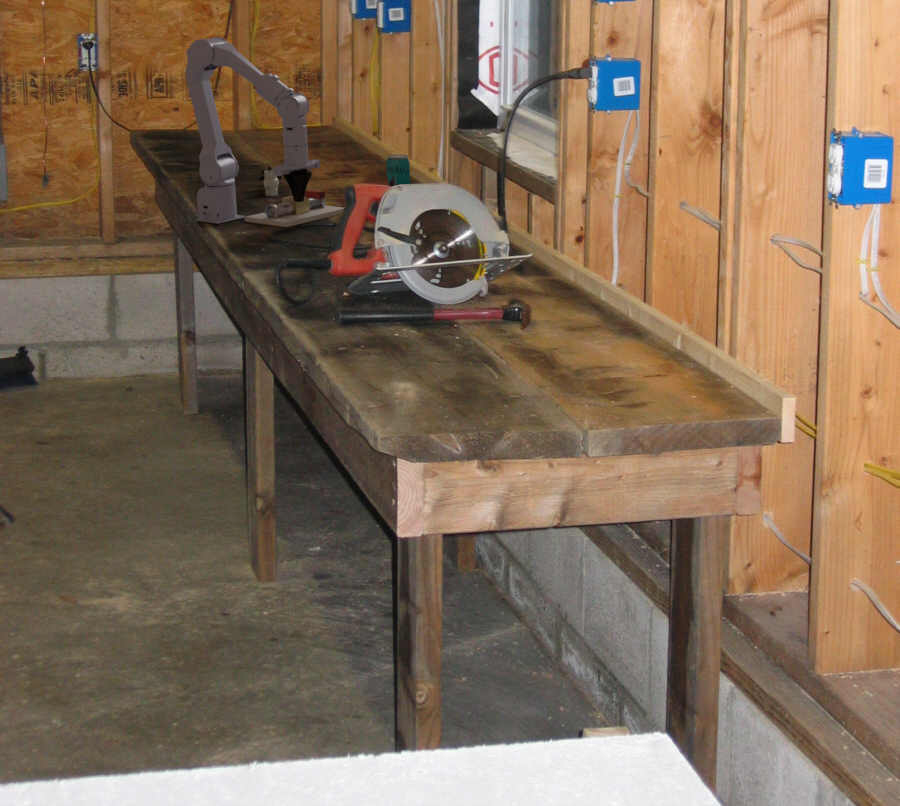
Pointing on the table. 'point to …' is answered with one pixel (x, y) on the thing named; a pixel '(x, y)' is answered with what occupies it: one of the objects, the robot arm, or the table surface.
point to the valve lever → (313, 194)
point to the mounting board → (295, 217)
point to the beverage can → (398, 170)
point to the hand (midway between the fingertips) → (298, 201)
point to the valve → (270, 181)
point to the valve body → (293, 206)
